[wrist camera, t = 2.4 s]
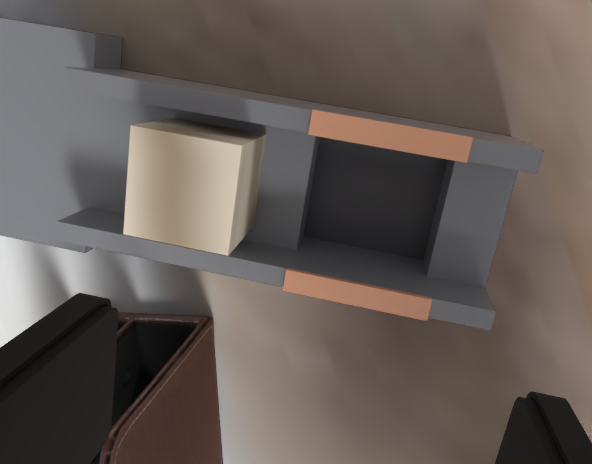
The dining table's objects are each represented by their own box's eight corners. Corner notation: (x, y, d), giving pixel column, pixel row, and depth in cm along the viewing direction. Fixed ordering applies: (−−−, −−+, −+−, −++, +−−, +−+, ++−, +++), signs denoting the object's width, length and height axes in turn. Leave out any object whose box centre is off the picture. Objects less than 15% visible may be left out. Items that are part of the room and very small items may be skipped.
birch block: (266, 134, 28) (242, 145, 23) (253, 227, 29) (228, 255, 24) (173, 117, 28) (130, 125, 24) (164, 209, 30) (123, 234, 25)
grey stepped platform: (520, 103, 28) (557, 110, 22) (463, 311, 32) (482, 365, 26) (-71, 5, 32) (-177, -12, 26) (-64, 202, 35) (-156, 227, 29)
